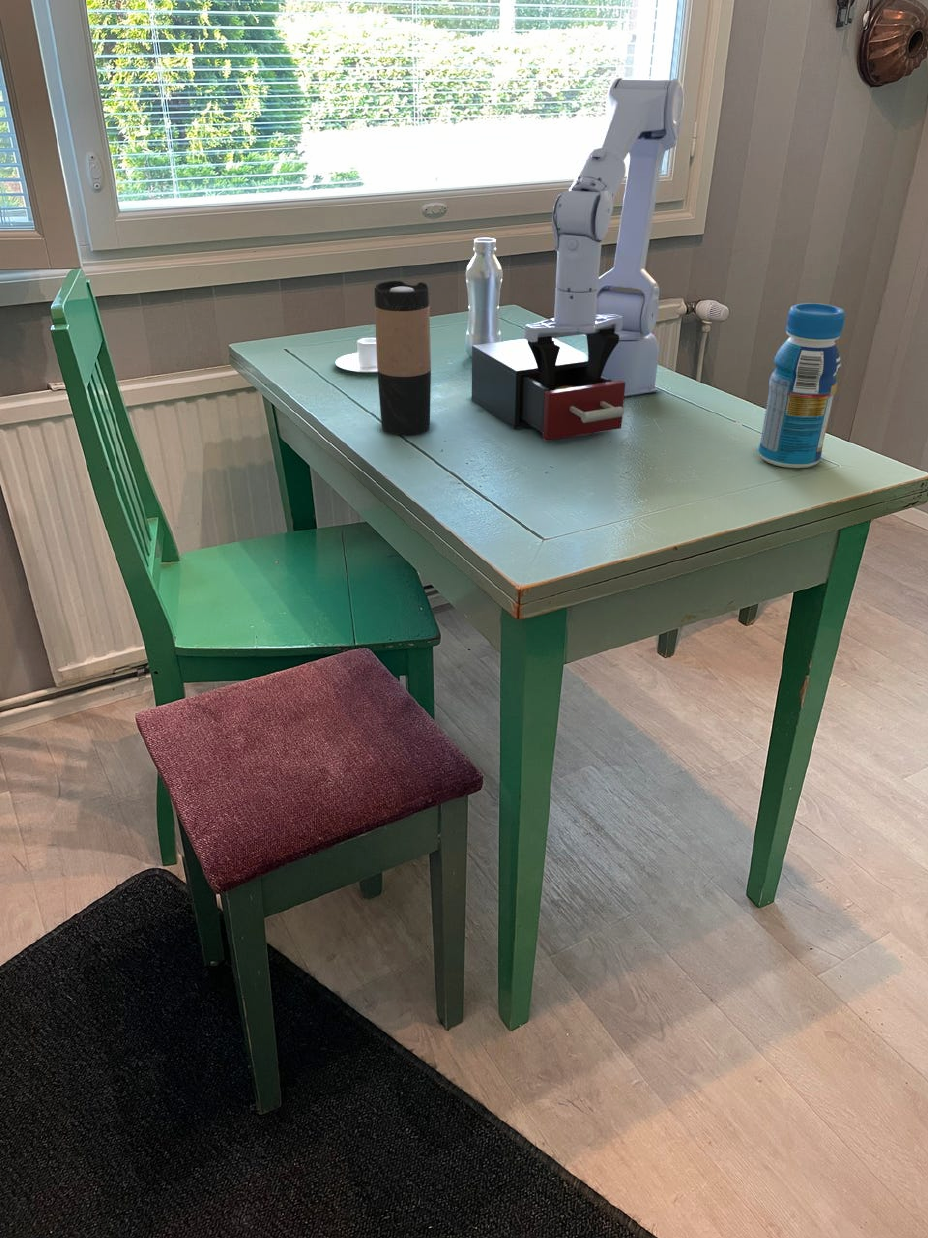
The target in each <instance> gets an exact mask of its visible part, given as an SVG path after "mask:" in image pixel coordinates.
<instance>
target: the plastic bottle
mask: <svg viewBox="0 0 928 1238" xmlns="http://www.w3.org/2000/svg"><path fill="white" fill-rule="evenodd" d="M496 245H497V244H496V239H495V238H491V237H477V238H475V239H473V249H472V251H473V252H474V256H473V257H472V258H471V259H470V261H469V262H468V264H467V266H466V268H465V269H466V270H465V281H466V282H465V283H466V290H467V301H468V317H467V327H466V328H467V330H466V334H465V341H464V347H465V352H466V354H467V356H468V357H469V358H471V359H472V345H479V344H487V343H495V342H502V336H501V331H500V329H501V328H500V316H499V315H500V313H499V312H500V306H499V305H500V299H501V298H500V296H501V289H502V281H503V275H504V272H503V268H502V265H501V263H500V262H499V260H498V259H497V257H496V255H495V253H496V252H497V248H496Z"/></svg>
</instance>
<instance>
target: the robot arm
mask: <svg viewBox="0 0 928 1238" xmlns="http://www.w3.org/2000/svg"><path fill="white" fill-rule="evenodd" d="M684 92H685V91H684V87H683V84H682V83H681V81H680V79H677V78H673V79H639V78H638V79H636V78H635V79H632V78H631V79H629V78H622V77H616V78H614V80H613V81H612V82H611V84H610V85H609V87H608V91H607V93H606V99H605V116H606V120H607V121H606V122H607V126H606V129H605V130H604V134H603V137H602V139H601V142H600V145H599V147H596V148H593V149H592V150H590V152H588V154H586V156H585V159H584V160H583V162H582V164H581V167H580V168H579V170H578V172H577V175H576V176H575V179H574V181H573V182H572V185H571V186H570V188H569V189H566V190H564V191H563V193H560V194H558V195H557V196H556V198H555V200H554V204H553V208H552V215H551V229H552V233H553V248H554V251H555V252H557V254H556V257H557V258H556V272H555V273H556V274H555V293H554V311H553V312H554V313H553V317H551V318H548V319H545V320H542V321H538V322H534V323H528V324H525V325H524V339H526V340H527V342H528V345H529V347H530V349H531V351H532V353H533V356H534V358H535V361H536V364H537V367H538V371H539V376H540V381H541V384H542V385H544V386H545V387H547V388H549V391H552V390H553V387H554V375H555V366H556V361H557V357H558V353H559V350H560V347H559V346H557V345H555V344H554V341H552V338H554V339H556V338H557V339H558V338H564V337H565V338H566V337H573V336H580V335H586V336H585V337H586V344H587V355H588V367H587V380H588V382H590V383H592V384H599V382H600V379H601V376H602V375H604V376H606V377H607V378H609V379H611V382H612V381H619V380H622V381H624V382H625V393H624V397H630V396H637V395H643V394H648V393H655V392H658V388H657V387H656V380H657V372H658V363H659V355H660V354H659V353H660V351H659V348H660V347H659V343H658V340H657V337H656V336H655V335H654V334H653V333H652V332H654V330H655V328H656V325H657V322H658V318H659V317H658V316H659V311H660V308H659V307H660V305H659V304H660V303H659V299H660V297H659V296H660V287H659V284H658V282H657V281H656V280H655V279H654V278H653V276H651V275H650V273H648V272H647V270H646V264H647V257H648V251H649V244H650V239H651V232H652V226H653V220H654V214H655V207H656V201H657V195H658V189H659V183H660V178H661V177H660V176H661V170H662V166H663V162H664V158H665V154H666V151H669V150H671V149H673V148H675V147H676V146H677V141H678V138H679V136H680V130H681V124H682V118H683V113H684V105H685V99H684V97H685V94H684ZM628 155H629V160H628V161H629V162H628V167H626V163H625V159H626V158H627V156H628ZM626 168H628V169H626ZM626 170H627V172H626ZM626 173H627V175H626ZM625 176H626V180H625V181H626V182H625V188H624V195H623V202H622V209H621V215H620V221H619V229H618V235H617V241H616V242H617V243H616V247H615V253H614V254H615V255H614V260H613V261H614V262H613V267H612V268H611V269H610V270H608V271H607V272H605V273H603V274H602V275H601V276H600V266H601V253H602V243H603V240H604V239H605V237H606V235H607V234H608V231H609V228H610V223H611V218H612V214H613V211H614V199H615V197H616V195H617V193H618V191H619V189H620V187H621V185H622V182H623V180H624V179H625ZM613 288H625V289H634V290H638V291H641V292H634V291H626V290H618V289H617V290H616V289H613Z"/></svg>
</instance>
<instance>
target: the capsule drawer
mask: <svg viewBox="0 0 928 1238" xmlns="http://www.w3.org/2000/svg"><path fill="white" fill-rule="evenodd" d="M561 386H576V387H572V388H565V389H559V390H555V389H556V388H558V387H561ZM624 393H625V382H624V381H622V380H619V381H612V382H611V379H609V378H607V377H606V376H604V375H602V376H601V379H600V382H599V384H592V383H590V382H588V380H587V367H580V368H572V369H565V370H558V371H555V375H554V387H553V390H552V391H549V388H547V387H545V386H544V385H542V384H541V381H540V376H539V373H537V374H530V375H523V376H521V390H520V417H519V418H521V419H522V420H524V421H525V422H527V423H528V424H530V425H531V426H530V427H532V428H534V429H536V430H537V431H539V432H541V433H542V439H543V440H544V441H545V442H550V441H558V440H562V439H569V438H573V437H579V436H585V435H591V434H598V433H603V432H608V431H613V430H619V429H622V424H623V423H622V422H623V416H624V402H625V396H624Z"/></svg>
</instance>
